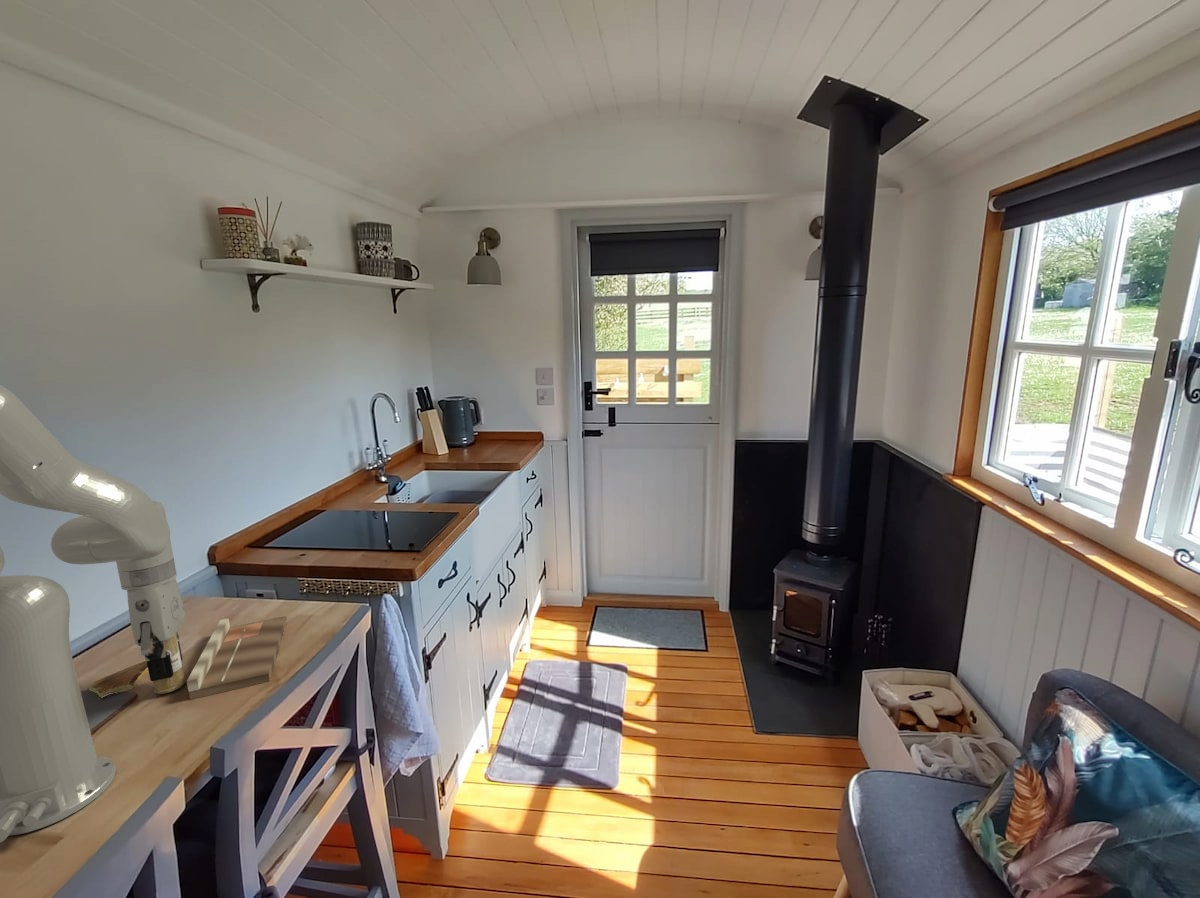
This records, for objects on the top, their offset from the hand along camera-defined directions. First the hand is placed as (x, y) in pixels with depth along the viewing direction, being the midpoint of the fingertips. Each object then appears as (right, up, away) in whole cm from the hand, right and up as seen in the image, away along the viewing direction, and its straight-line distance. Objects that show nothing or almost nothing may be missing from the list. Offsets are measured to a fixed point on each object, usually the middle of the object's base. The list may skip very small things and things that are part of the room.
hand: (167, 670), depth 99 cm
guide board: (+7, -1, +10) cm, 13 cm away
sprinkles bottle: (0, -3, +1) cm, 4 cm away
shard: (-12, -4, +4) cm, 13 cm away
